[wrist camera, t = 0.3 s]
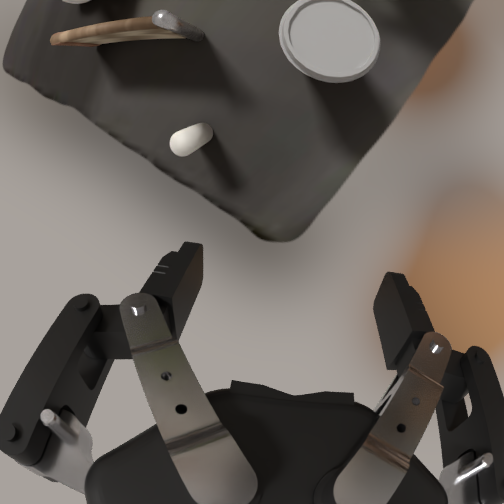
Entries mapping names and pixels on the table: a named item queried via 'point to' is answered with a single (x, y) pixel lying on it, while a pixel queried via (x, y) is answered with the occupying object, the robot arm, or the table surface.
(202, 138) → the post
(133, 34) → the brown flat block
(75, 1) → the white decorative knot
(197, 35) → the translucent grey rod
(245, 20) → the table surface
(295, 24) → the disposable coffee cup
